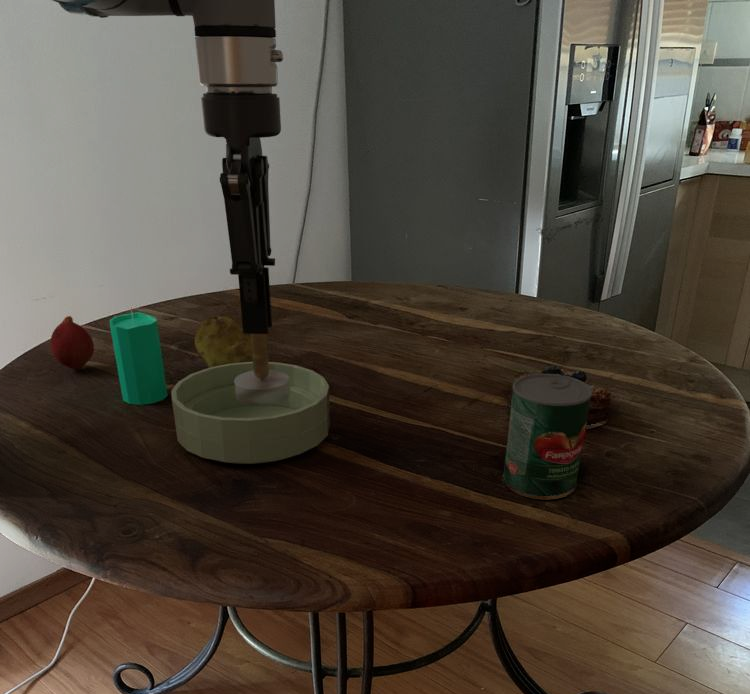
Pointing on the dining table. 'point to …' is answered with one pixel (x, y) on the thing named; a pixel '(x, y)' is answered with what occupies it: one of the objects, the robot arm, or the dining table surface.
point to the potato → (222, 342)
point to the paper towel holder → (261, 378)
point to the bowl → (249, 416)
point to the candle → (138, 358)
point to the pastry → (598, 399)
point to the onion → (71, 344)
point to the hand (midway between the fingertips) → (257, 329)
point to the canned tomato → (546, 433)
